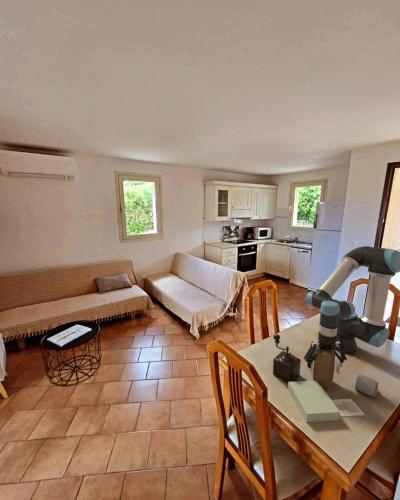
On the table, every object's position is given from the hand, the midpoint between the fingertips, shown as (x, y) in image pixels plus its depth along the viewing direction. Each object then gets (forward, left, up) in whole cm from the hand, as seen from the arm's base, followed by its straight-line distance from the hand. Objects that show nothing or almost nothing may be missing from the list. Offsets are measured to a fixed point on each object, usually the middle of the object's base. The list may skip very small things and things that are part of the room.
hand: (323, 372), depth 109 cm
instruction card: (-2, +14, -6) cm, 15 cm away
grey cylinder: (-18, +5, -6) cm, 19 cm away
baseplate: (+12, +11, -6) cm, 17 cm away
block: (0, 0, -6) cm, 6 cm away
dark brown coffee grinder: (+17, -9, -6) cm, 20 cm away
